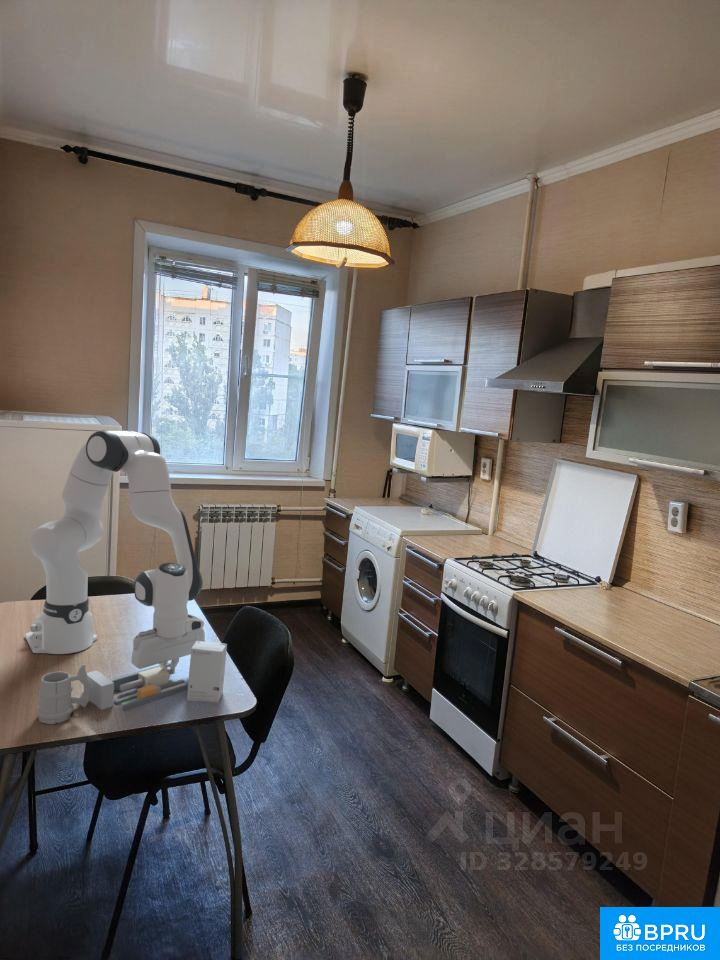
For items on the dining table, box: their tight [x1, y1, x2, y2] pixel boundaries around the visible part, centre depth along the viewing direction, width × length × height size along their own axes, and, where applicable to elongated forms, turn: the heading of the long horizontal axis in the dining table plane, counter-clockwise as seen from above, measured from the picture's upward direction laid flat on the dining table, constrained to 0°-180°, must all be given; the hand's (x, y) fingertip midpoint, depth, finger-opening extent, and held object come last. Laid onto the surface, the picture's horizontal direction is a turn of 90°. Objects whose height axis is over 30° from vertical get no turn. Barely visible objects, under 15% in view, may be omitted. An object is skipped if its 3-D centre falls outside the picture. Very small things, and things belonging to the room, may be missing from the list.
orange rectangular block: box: [136, 685, 157, 699], centre depth 158 cm, size 3×4×2 cm, turn 138°
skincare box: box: [186, 641, 228, 703], centre depth 161 cm, size 8×6×15 cm
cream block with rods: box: [119, 667, 170, 693], centre depth 162 cm, size 10×12×3 cm
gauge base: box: [87, 662, 188, 711], centre depth 163 cm, size 17×26×7 cm, turn 138°
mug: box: [36, 663, 92, 725], centre depth 149 cm, size 8×12×12 cm, turn 121°
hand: (168, 674), depth 169 cm, fingers closed
